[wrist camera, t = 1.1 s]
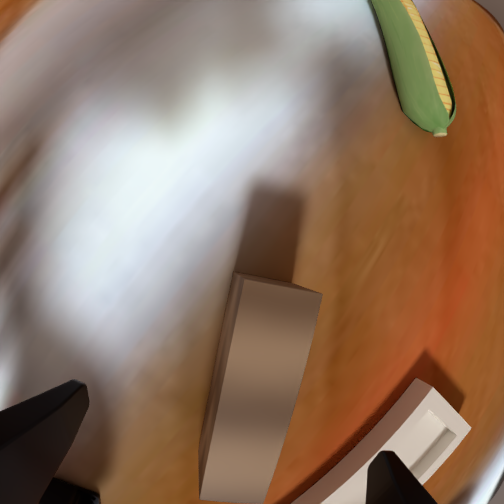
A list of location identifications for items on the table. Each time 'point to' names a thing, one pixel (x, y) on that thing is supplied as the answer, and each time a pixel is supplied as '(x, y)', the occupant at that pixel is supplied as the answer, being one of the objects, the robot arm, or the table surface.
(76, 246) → the table surface
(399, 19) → the edible corn
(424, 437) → the slot tray
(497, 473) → the table surface
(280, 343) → the walnut block
